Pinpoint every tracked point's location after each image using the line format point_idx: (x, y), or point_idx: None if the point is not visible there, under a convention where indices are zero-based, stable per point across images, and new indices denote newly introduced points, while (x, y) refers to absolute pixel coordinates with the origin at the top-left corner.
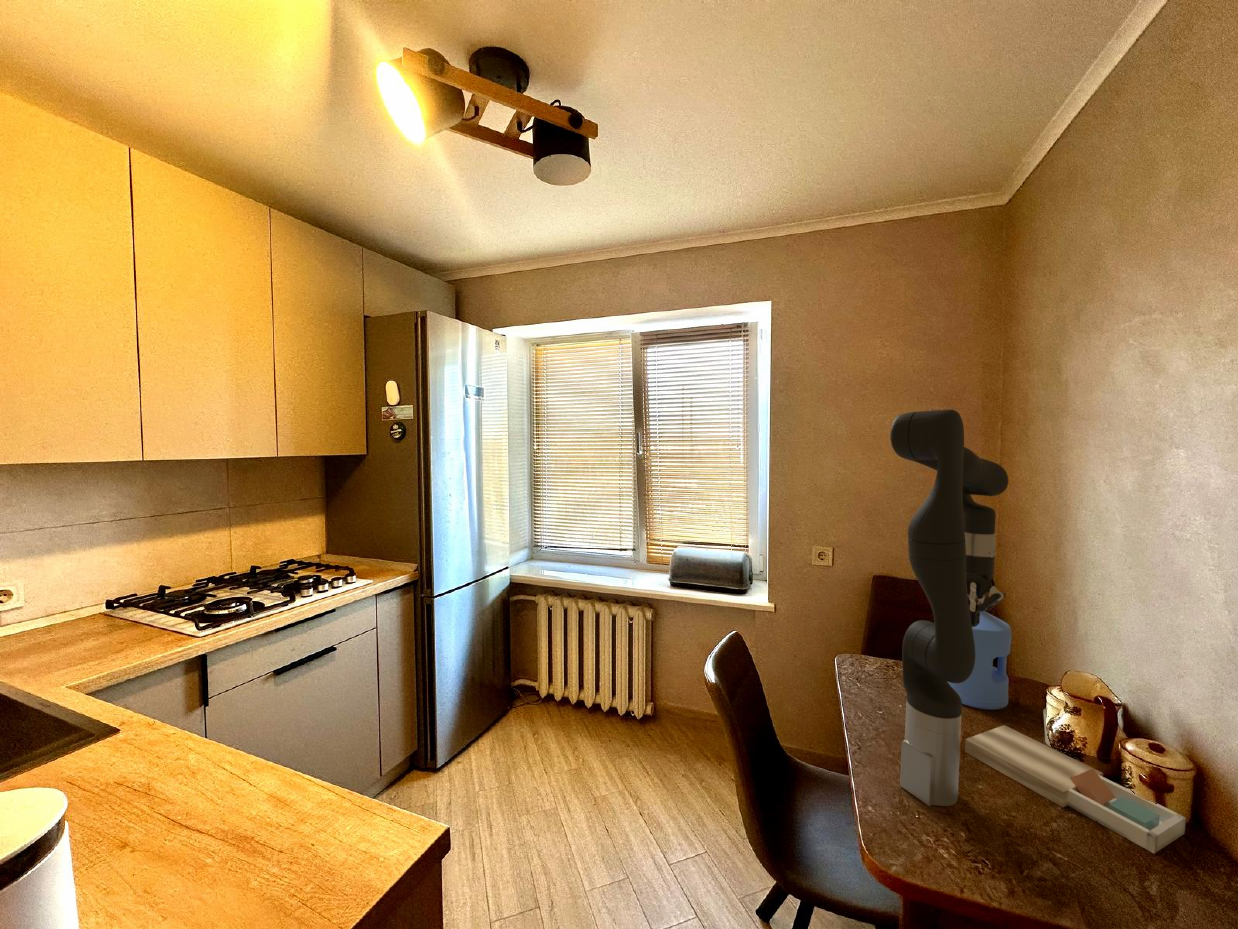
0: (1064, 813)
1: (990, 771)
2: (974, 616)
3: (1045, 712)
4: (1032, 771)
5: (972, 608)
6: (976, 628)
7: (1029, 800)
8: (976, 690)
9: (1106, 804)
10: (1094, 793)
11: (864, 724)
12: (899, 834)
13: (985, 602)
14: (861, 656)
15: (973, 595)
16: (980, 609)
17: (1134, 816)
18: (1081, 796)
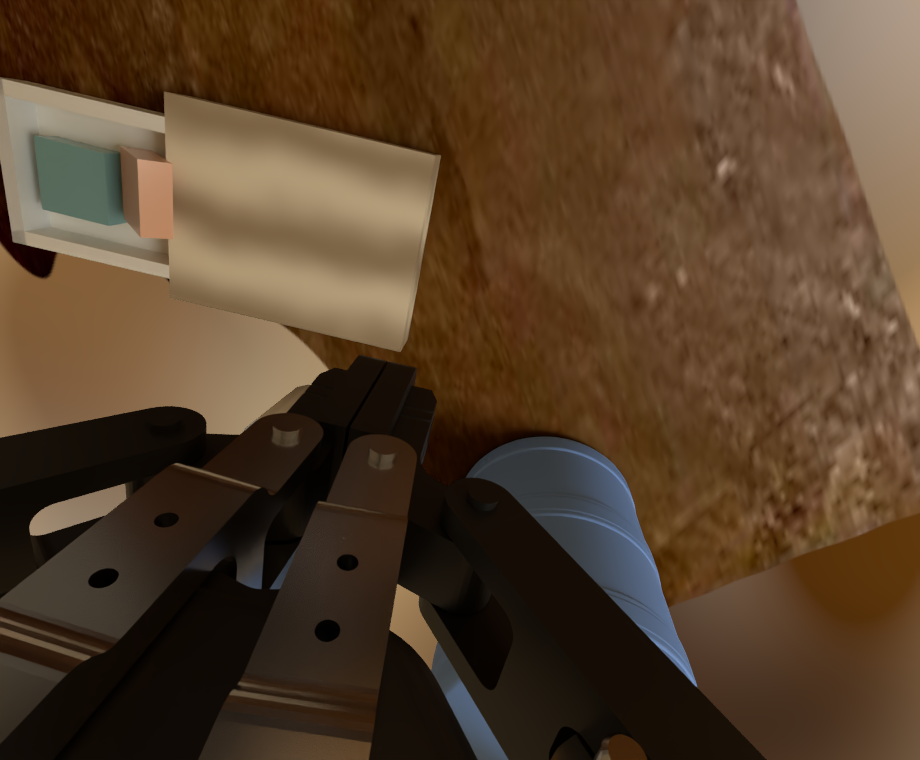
0: (177, 69)
1: (357, 109)
2: (309, 408)
3: None
4: (249, 133)
5: (276, 425)
6: None
7: (242, 47)
8: (510, 471)
9: None
10: (126, 158)
11: (743, 11)
12: None
13: (14, 472)
14: (896, 515)
15: (138, 537)
16: (169, 415)
17: (56, 146)
18: (135, 113)
